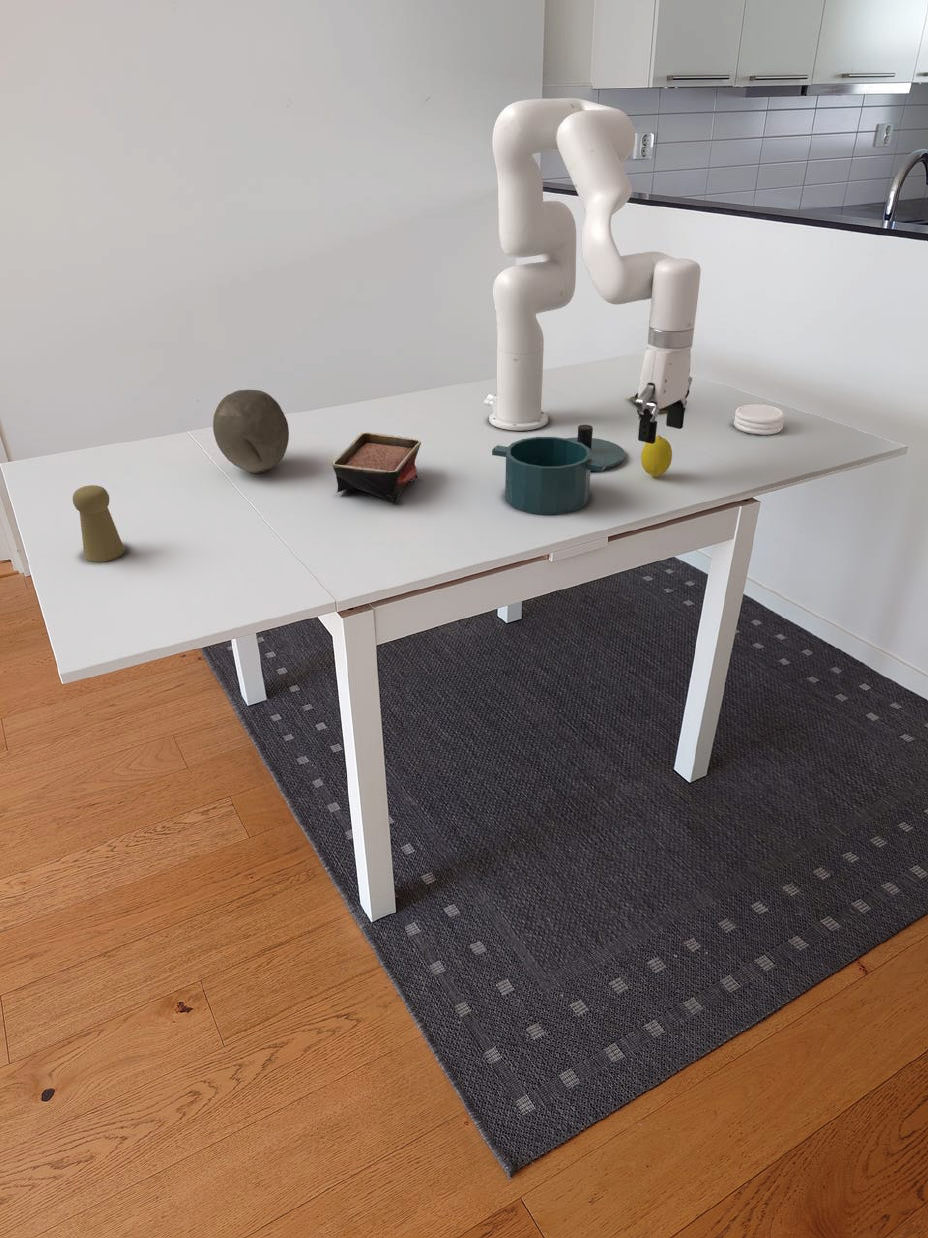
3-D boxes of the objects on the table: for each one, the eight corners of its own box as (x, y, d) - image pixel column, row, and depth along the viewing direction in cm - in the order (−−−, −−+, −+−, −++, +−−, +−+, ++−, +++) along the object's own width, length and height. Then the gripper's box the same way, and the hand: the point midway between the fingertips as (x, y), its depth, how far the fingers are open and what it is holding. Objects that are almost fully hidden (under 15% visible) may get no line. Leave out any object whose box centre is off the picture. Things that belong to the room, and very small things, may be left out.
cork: (90, 545, 143) (73, 481, 137) (128, 543, 143) (113, 479, 137) (79, 562, 138) (62, 497, 132) (119, 561, 138) (103, 495, 132)
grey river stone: (308, 462, 172) (300, 385, 164) (265, 489, 161) (254, 408, 153) (248, 451, 177) (237, 376, 169) (203, 476, 166) (189, 398, 158)
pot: (508, 473, 166) (509, 430, 162) (612, 490, 159) (616, 445, 155) (478, 503, 155) (478, 457, 150) (588, 523, 148) (592, 475, 143)
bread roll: (627, 400, 202) (628, 384, 200) (659, 396, 204) (661, 380, 202) (651, 414, 193) (652, 398, 192) (684, 410, 196) (686, 393, 194)
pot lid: (558, 438, 182) (559, 409, 179) (633, 448, 176) (636, 419, 173) (531, 465, 170) (532, 434, 166) (611, 477, 164) (614, 446, 161)
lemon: (669, 484, 161) (674, 442, 157) (638, 481, 162) (642, 440, 158) (669, 472, 166) (674, 431, 162) (639, 470, 167) (643, 429, 163)
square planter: (432, 486, 166) (429, 432, 163) (395, 510, 151) (391, 452, 147) (362, 482, 171) (358, 430, 167) (319, 506, 155) (313, 449, 152)
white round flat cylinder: (788, 424, 187) (791, 408, 186) (774, 438, 180) (777, 422, 179) (741, 416, 192) (744, 400, 190) (726, 430, 185) (729, 413, 183)
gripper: (676, 324, 158) (666, 417, 167) (624, 344, 147) (616, 443, 156) (714, 330, 154) (702, 426, 163) (664, 351, 143) (654, 452, 152)
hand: (660, 434), depth 160 cm, fingers open, 9 cm apart
